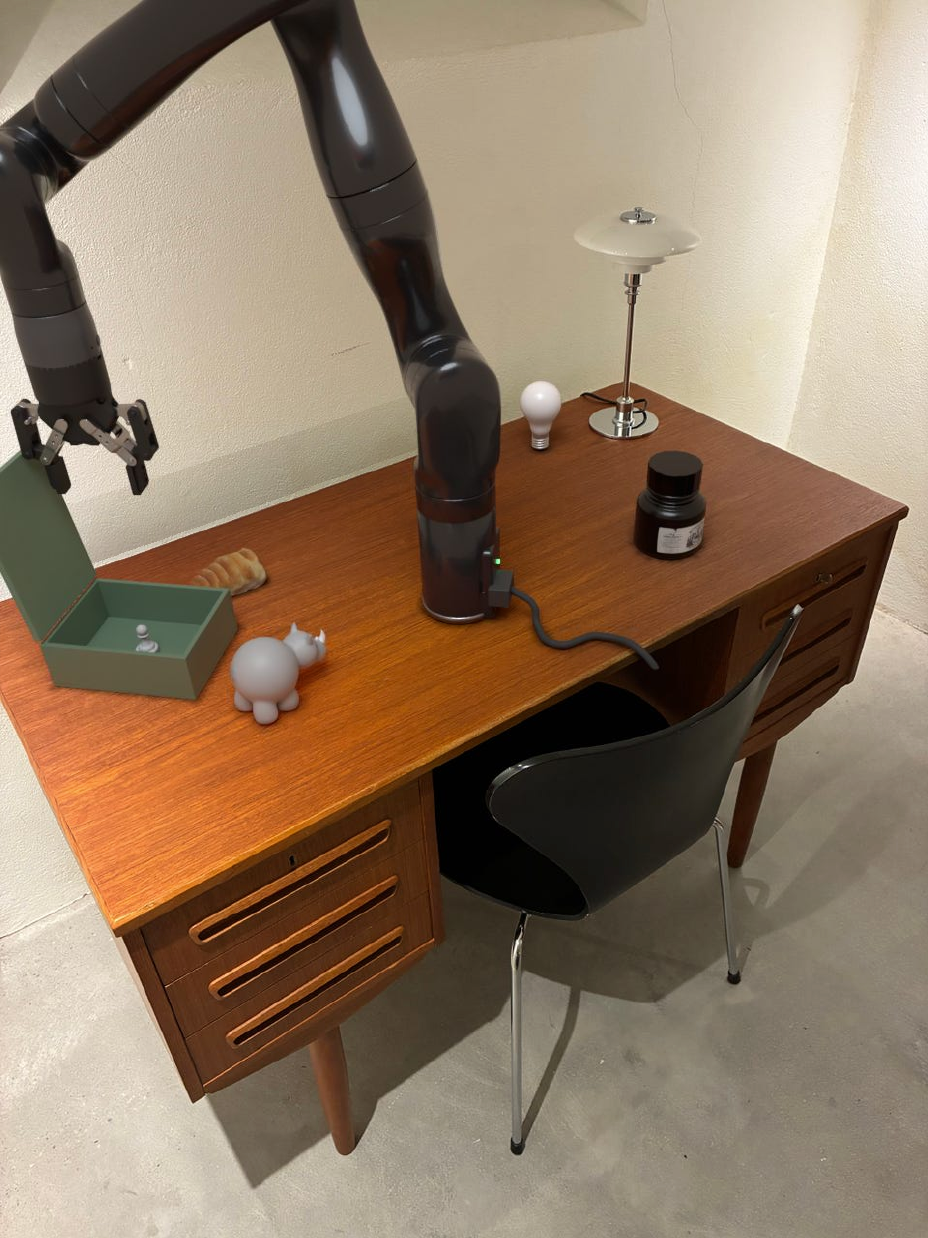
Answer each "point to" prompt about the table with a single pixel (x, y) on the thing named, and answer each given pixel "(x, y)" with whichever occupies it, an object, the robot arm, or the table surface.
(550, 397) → the lightbulb
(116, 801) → the table surface
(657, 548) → the ink bottle
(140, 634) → the pawn
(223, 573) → the pastry
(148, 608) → the chess box
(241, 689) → the toy rhinoceros
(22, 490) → the box lid
